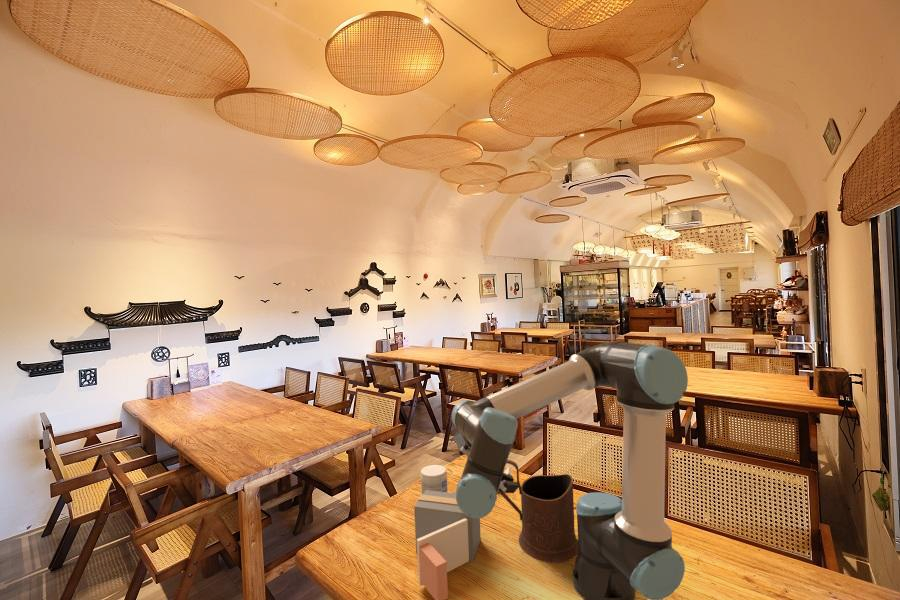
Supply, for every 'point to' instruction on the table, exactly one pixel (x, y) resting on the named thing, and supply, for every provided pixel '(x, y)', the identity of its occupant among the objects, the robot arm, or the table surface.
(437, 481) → the supplement tub
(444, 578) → the door
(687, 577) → the table surface
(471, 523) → the carton
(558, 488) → the brown pitcher
